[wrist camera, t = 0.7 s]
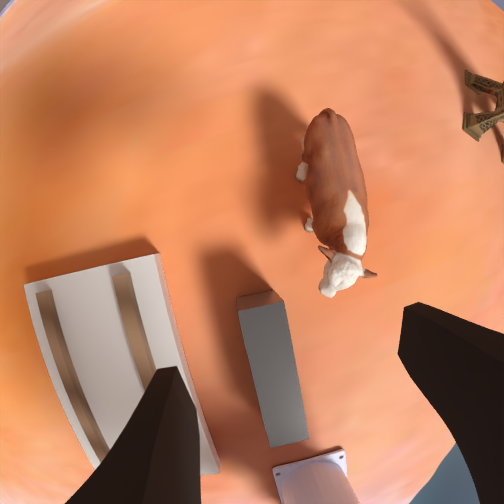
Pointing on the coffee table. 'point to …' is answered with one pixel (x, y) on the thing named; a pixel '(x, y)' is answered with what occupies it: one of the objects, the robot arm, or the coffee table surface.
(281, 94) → the coffee table surface
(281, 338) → the grey rectangular block
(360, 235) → the bull figurine
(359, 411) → the coffee table surface
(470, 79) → the eiffel tower
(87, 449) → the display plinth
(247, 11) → the coffee table surface
